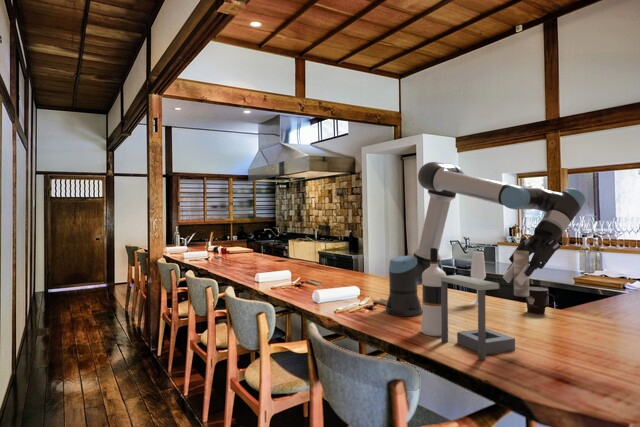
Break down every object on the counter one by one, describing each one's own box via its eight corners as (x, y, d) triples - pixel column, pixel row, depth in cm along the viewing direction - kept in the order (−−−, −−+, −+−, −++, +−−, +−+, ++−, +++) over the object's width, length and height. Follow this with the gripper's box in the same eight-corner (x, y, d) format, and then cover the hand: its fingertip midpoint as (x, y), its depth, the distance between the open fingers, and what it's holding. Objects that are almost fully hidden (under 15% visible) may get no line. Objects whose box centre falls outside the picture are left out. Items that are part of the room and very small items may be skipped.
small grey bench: (457, 338, 138) (457, 274, 138) (500, 357, 120) (500, 283, 120) (440, 341, 135) (439, 275, 135) (481, 360, 117) (481, 285, 117)
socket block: (486, 338, 138) (486, 328, 138) (515, 349, 126) (515, 338, 126) (457, 342, 133) (457, 332, 133) (484, 354, 122) (483, 343, 122)
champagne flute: (485, 302, 193) (485, 251, 193) (486, 305, 186) (486, 252, 186) (470, 301, 195) (470, 251, 195) (470, 304, 188) (470, 252, 188)
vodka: (415, 332, 146) (414, 247, 146) (433, 328, 151) (432, 246, 151) (435, 338, 138) (435, 249, 138) (453, 334, 143) (453, 248, 143)
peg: (513, 296, 129) (513, 251, 129) (513, 293, 133) (513, 250, 133) (529, 297, 127) (529, 252, 127) (529, 294, 131) (528, 250, 131)
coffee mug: (520, 310, 177) (520, 287, 177) (539, 309, 178) (539, 286, 178) (536, 317, 165) (536, 292, 165) (557, 316, 166) (557, 291, 166)
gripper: (582, 236, 127) (541, 294, 122) (535, 234, 143) (498, 284, 138) (569, 220, 125) (527, 277, 120) (523, 219, 142) (485, 269, 136)
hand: (512, 281), depth 129 cm, fingers closed on peg, 4 cm apart
